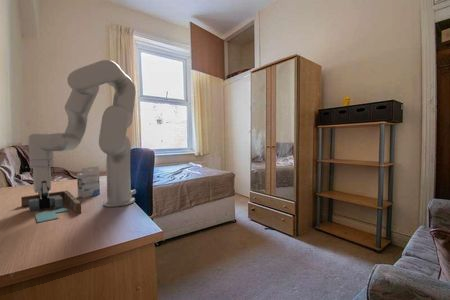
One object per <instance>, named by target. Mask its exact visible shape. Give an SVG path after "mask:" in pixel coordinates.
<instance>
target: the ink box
mask: <svg viewBox="0 0 450 300" xmlns="http://www.w3.org/2000/svg"><path fill="white" fill-rule="evenodd" d="M99 169H100V168H99V166H98V165H97V166H87V167H82V168H81V172H80V173H76V182H77V198H82V199H84V198H85V199H86V198H89V197H93V196H97V195H101V191H100V189H101V187H100V171H99Z"/></svg>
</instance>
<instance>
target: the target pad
mask: <svg viewBox="0 0 450 300" xmlns="http://www.w3.org/2000/svg"><path fill="white" fill-rule="evenodd" d="M68 211H69V210H68V208H67V207H63V208H61V209H56V210H55V209H53V210H47V211H42V212H41V211H40V212H36V213H34V215H35V220H36V222H37V224H39V223H44V222H49V221H53V220H57V219H59V216H58V215H57V214H60V213H65V212H68Z"/></svg>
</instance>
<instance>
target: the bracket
mask: <svg viewBox="0 0 450 300" xmlns="http://www.w3.org/2000/svg"><path fill="white" fill-rule="evenodd" d="M49 198H50V208H45V209H44V210H47V209H48V210H49V209H52V208H54V210H56V209H62V208H64V202H63V201H64V200H63V199H62V197H61V196H60V195H57V196H51V197H49ZM39 199H40V198H37V199H31V200H29V206H28V211H29V212H30V213H31V212H36V211H42V210H43V209H40V207H39Z"/></svg>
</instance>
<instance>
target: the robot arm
mask: <svg viewBox="0 0 450 300" xmlns="http://www.w3.org/2000/svg"><path fill="white" fill-rule="evenodd" d="M66 79H67V85H68V86H69V87H70V88H71V89H72V90H71V92H70V94H69V97H68V98H67V99H66V103H65V105H64V111H65V113H66V115H67V118H68V119H67V121H68V122H67V125H66V128H65V130H64V132H56V133H30V134H29V135H28V153H29V157H28V158H29V169H32V170H33V171H32V178H33V182H32V184H33V192H34V193H37V195H38V198H40V199H39V207H40V209H42V210H46V209H45V208H48V209H51V208H50V198H49V193H50V191H51V189H52V174H51V168H52V167H54V166H55V162H54V161H55V159H54V152H66V151H72V150H73V151H74V150H75V149H77V148H78V147H79V145H80V144H81V142H82V140H83V138H84V136H85V133H86V130H87V124H88V116H89V113H90V111H91V108H92V107H93V104H94V103H95V100H96V98H97V96H98V93H99V91H100V86H102V85H104V84H108V85H109V86H111V87H112V88H113V89H114V94H113V100H112V105H110V106H108V107H107V108H105V109H104V111H103V113H102V116H101V122H100V123H101V124H100V129H99V135H98V146H99V148H100V151H102V152H103V153H104V154H106V164H105V165H106V167H105V168H106V197H107V199H105V200H104V201H103V207H104V206H105V207H108V208H114V207H115V208H117V207H123V206H128V205H131V204H132V203H135V201H136V198H135V197H133V195H135V194H136V193H137V190H136V189H132V188H131V187H132V186H131V148H132V147H131V145H132V144H131V140H130V137H128V136H127V132H128V129H129V128H130V127H131V125H132V124H133V118H134V108H135V100H136V91H137V90H136V85H135V83H134V82H133V80H132V79H131V78H130V76H129V75H127V74H126V73H125V72H124V71H123V69H122V68H121V67H120V66H119V65H118V64H117V63H116V62H115V61H113V60H110V59H102V60H98V61H95V62H93V63H91V64H88V65H84V66H82V67H79V68H76V69H74V70H73V71H71V72H70V73H69V74H68V76H67V78H66Z"/></svg>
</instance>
